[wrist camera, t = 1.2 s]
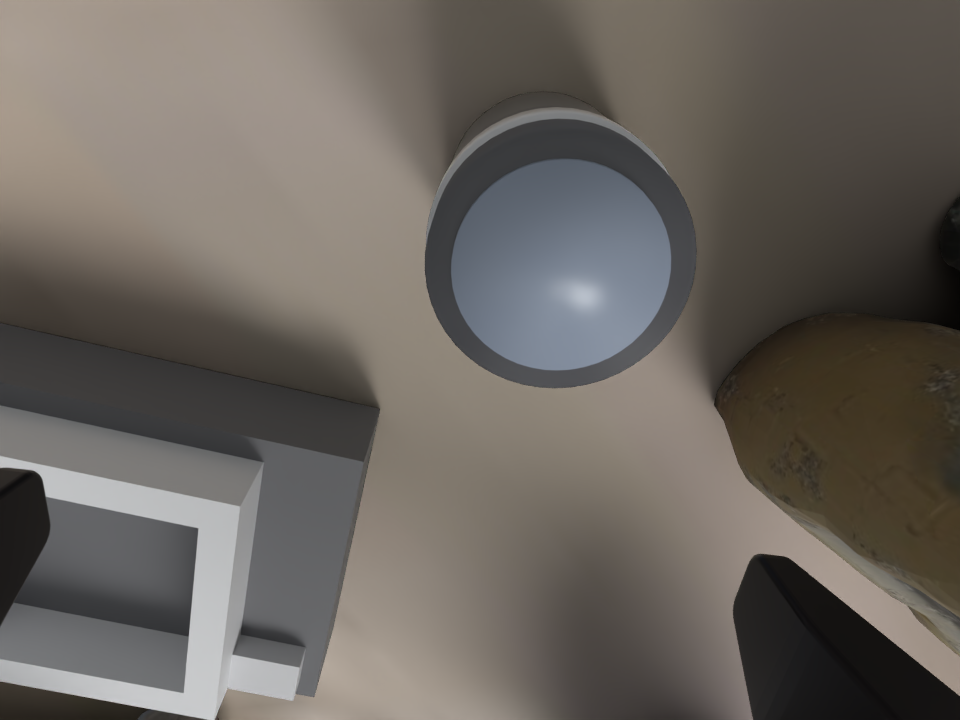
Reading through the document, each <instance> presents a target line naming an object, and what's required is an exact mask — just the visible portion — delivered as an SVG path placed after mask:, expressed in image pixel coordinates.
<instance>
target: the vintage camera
mask: <svg viewBox="0 0 960 720" xmlns="http://www.w3.org/2000/svg"><path fill="white" fill-rule="evenodd" d="M137 720H207V719H202V718H196V717H191V716H185V715H180V714H174V713H169V712H164V711H158V710H153V709H149V710H147V711H146V712H144V713H142V714H141V716H140V717H139V718H138V719H137ZM215 720H219V719H218V717H217V715H216V718H215Z"/></svg>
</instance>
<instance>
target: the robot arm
mask: <svg viewBox="0 0 960 720" xmlns="http://www.w3.org/2000/svg"><path fill="white" fill-rule="evenodd" d="M50 527H51V523H50V516H49V511H48V506H47V500H46V495H45V489H44V484H43V480H42V478H41V476H40V475H39V474H38V473H37V472H35V471H33V470H26V469H17V468H0V627H1V625H2V623H3V621H4V619H5V618H6V616H7V614H8V612H9V610H10V608H11V607H12V605H13V603H14V601H15V599H16V598H17V596H18V594H19V592H20V590H21V588H22V587H23V585H24V583H25V581H26V579H27V578H28V576H29V574H30V572H31V570H32V568H33V567H34V565H35V563H36V561H37V559H38V558H39V556H40V554H41V552H42V550H43V549H44V547H45V545H46V543H47V540H48V538H49V534H50ZM733 618H734V624H735V629H736V634H737V640H738V645H739V650H740V655H741V660H742V665H743V671H744V676H745V681H746V686H747V691H748V696H749V701H750V707H751V712H752V717H753V720H960V696H959V695H957V694H956V693H955V692H954V691H953V690H951V689H950V688H949V687H948V686H946V685H945V684H944V683H943V682H941V681H940V680H939V679H938V678H937V677H935V676H934V675H933V674H932V673H930V672H929V671H928V670H927V669H925V668H924V667H923V666H922V665H920V664H919V663H918V662H917V661H916V660H914V659H913V658H912V657H911V656H909V655H908V654H907V653H906V652H904V651H903V650H902V649H901V648H899V647H898V646H897V645H896V644H895V643H893V642H892V641H891V640H890V639H888V638H887V637H886V636H885V635H883V634H882V633H881V632H880V631H878V630H877V629H876V628H875V627H874V626H872V625H871V624H870V623H869V622H867V621H866V620H865V619H864V618H862V617H861V616H860V615H859V614H857V613H856V612H855V611H854V610H853V609H851V608H850V607H849V606H848V605H846V604H845V603H844V602H843V601H841V600H840V599H839V598H838V597H836V596H835V595H834V594H833V593H832V592H830V591H829V590H828V589H827V588H825V587H824V586H823V585H822V584H820V583H819V582H818V581H817V580H815V579H814V578H813V577H812V576H811V575H809V574H808V573H807V572H806V571H804V570H803V569H802V568H801V567H799V566H798V565H797V564H796V563H795V562H793V561H792V560H791V559H789V558H787V557H783V556H775V555H767V554H757V555H755V556H753V557H752V559H751V560H750V562H749V564H748V566H747V569H746V572H745V574H744V577H743V579H742V582H741V585H740V587H739V590H738V592H737V595H736V597H735V601H734V606H733Z"/></svg>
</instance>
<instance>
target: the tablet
mask: <svg viewBox="0 0 960 720" xmlns="http://www.w3.org/2000/svg"><path fill="white" fill-rule="evenodd" d="M940 249H941V254H942V258H943V259H944V260H945V261H946V263H947V264H948V265H950V266H952V267H954V268H956V269H958V270H960V197H959V198H958V199H957V201H956V202H955V203H954V205H953V206H952V207H951V209H950V210H949V212H948V214H947V217H946V219H945V221H944V223H943V226H942V228H941V237H940ZM714 406H715V407H716V409H717V410H718V412H719V414H720V415H721V417H722V418H723V420H724V422H725V425H726V428H727V431H728V434H729V437H730V440H731V443H732V446H733V449H734V452H735V455H736V458H737V461H738V464H739V466H740V468H741V469H742V471H743V473H744V475H745V477H746V478H747V479H748V481H749V482H750V483H751V484H752V485H754V486H755V487H756V488H757V489H758V490H759V491H761V492H762V493H763V494H764V495H765V496H766V497H767V498H769V499H770V500H771V501H772V502H773V503H774V504H776V505H777V506H778V507H779V508H780V509H781V510H783V511H784V512H785V513H786V514H787V515H788V516H790V517H791V518H792V519H793V520H794V521H795V522H797V523H798V524H799V525H800V526H801V527H803V528H804V529H805V530H807V531H808V532H809V533H810V534H812V535H813V536H814V537H816V538H817V539H818V540H819V541H821V542H822V543H823V544H825V545H826V546H827V547H829V548H830V549H831V550H832V551H834V552H835V553H836V554H837V555H839V556H840V557H841V558H842V559H843V560H845V561H846V562H847V563H848V564H850V565H851V566H852V567H853V568H854V569H856V570H857V571H858V572H859V573H860V574H862V575H863V576H864V577H866V578H867V579H869V580H870V581H871V582H873V583H874V584H875V585H877V586H878V587H879V588H881V589H882V590H884V591H885V592H886V593H888V594H889V595H890V596H892V597H893V598H895V599H897V600H899V601H900V602H902V603H904V604H906V605H907V606H908V607H909V609H910V610H911V611H912V613H913V614H914V615H915V617H916V618H917V620H918V621H919V622H921V623H922V624H923V625H924V626H925V627H926V628H927V629H928V630H929V631H930V632H932V633H933V634H934V635H935V636H936V637H937V638H938V639H939V640H940V641H942V642H943V643H944V644H945V645H946V646H948V647H949V648H950V649H951V650H953V651H954V652H955V653H956V654H958V655H959V656H960V331H959V330H955V329H952V328H948V327H944V326H941V325H936V324H931V323H926V322H919V321H908V320H896V319H891V318H886V317H881V316H876V315H871V314H865V313H827V314H823V315H818V316H814V317H809V318H805V319H802V320H800V321H797V322H794V323H792V324H789V325H787V326H784V327H782V328H781V329H779V330H778V331H777V332H775V333H774V334H772V335H770V336H769V337H768V338H766V339H765V340H763V341H762V342H760V343H759V344H758V345H757V346H756V347H754V348H753V349H752V350H751V351H750V352H749V353H748V354H747V355H746V356H745V357H744V358H743V359H742V360H741V361H740V362H739V363H738V364H737V366H736V367H735V368H734V369H733V371H732V372H731V373H730V374H729V376H728V377H727V378H726V379H725V381H724V382H723V384H722V386H721V387H720V389H719V390H718V393H717V396H716V400H715V403H714Z"/></svg>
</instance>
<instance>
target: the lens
mask: <svg viewBox="0 0 960 720" xmlns="http://www.w3.org/2000/svg"><path fill="white" fill-rule="evenodd" d="M696 252H697V250H696V238H695V231H694V227H693V222H692V218H691V215H690V212H689V210H688V207H687V204H686V202H685V200H684V198H683V196H682V194H681V193H680V191H679V189H678V187H677V186H676V184H675V183H674V181H673V180H672V179H671V177H670V175H669V173H668V172H667V170H666V168H665V167H664V165H663V164H662V163H661V162H660V160H659V159H658V158H657V156H656V155H655V154H654V153H653V152H652V151H651V150H650V149H649V148H648V147H647V146H646V145H645V144H644V143H643V142H642V141H640V140H639V139H638V138H637V137H636V136H634V135H633V134H632V133H630V132H629V131H628V130H626V129H625V128H623V127H622V126H621V125H619V124H617V123H615V122H613V121H612V120H610V119H608V118H606V117H605V116H604V115H602V114H601V113H600V112H599V111H598V110H596V109H595V108H593V107H592V106H591V105H589V104H587V103H585V102H583V101H581V100H579V99H577V98H574V97H571V96H569V95H565V94H560V93H555V92H531V93H525V94H521V95H517V96H514V97H511V98H509V99H506V100H504V101H502V102H500V103H498V104H496V105H495V106H493V107H492V108H490V109H489V110H487V111H486V112H485V113H483V114H482V115H481V116H480V117H479V118H478V119H477V120H476V121H475V122H474V123H473V124H472V126H471V127H470V128H469V129H468V131H467V132H466V133H465V135H464V137H463V138H462V140H461V142H460V143H459V146H458V148H457V150H456V152H455V155H454V158H453V161H452V163H451V165H450V166H449V168H448V170H447V171H446V173H445V174H444V177H443V179H442V181H441V183H440V186H439V188H438V190H437V193H436V196H435V198H434V201H433V205H432V208H431V211H430V215H429V219H428V226H427V233H426V251H425V275H426V283H427V289H428V293H429V297H430V300H431V304H432V306H433V308H434V311H435V313H436V316H437V318H438V320H439V321H440V323H441V325H442V327H443V328H444V330H445V332H446V333H447V334H448V336H449V337H450V338H451V340H452V341H453V342H454V343H455V345H456V346H457V347H458V348H459V349H460V350H461V351H462V352H463V353H464V354H465V355H466V356H468V357H469V358H470V359H471V360H473V361H474V362H475V363H477V364H478V365H479V366H481V367H483V368H484V369H486V370H488V371H489V372H491V373H493V374H495V375H497V376H500V377H502V378H504V379H507V380H509V381H513V382H516V383H520V384H523V385H528V386H534V387H542V388H567V387H576V386H582V385H587V384H591V383H594V382H598V381H601V380H604V379H607V378H609V377H611V376H614V375H616V374H618V373H620V372H622V371H624V370H625V369H627V368H629V367H631V366H632V365H634V364H635V363H637V362H638V361H640V360H641V359H642V358H644V357H645V356H646V355H648V354H649V353H650V352H651V351H652V350H653V349H654V348H655V347H656V346H657V345H658V344H659V343H660V342H661V341H662V340H663V339H664V337H665V336H666V335H667V334H668V333H669V331H670V330H671V329H672V327H673V326H674V324H675V323H676V321H677V319H678V318H679V316H680V314H681V312H682V310H683V308H684V306H685V304H686V302H687V300H688V297H689V294H690V291H691V288H692V284H693V279H694V274H695V269H696Z"/></svg>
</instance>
